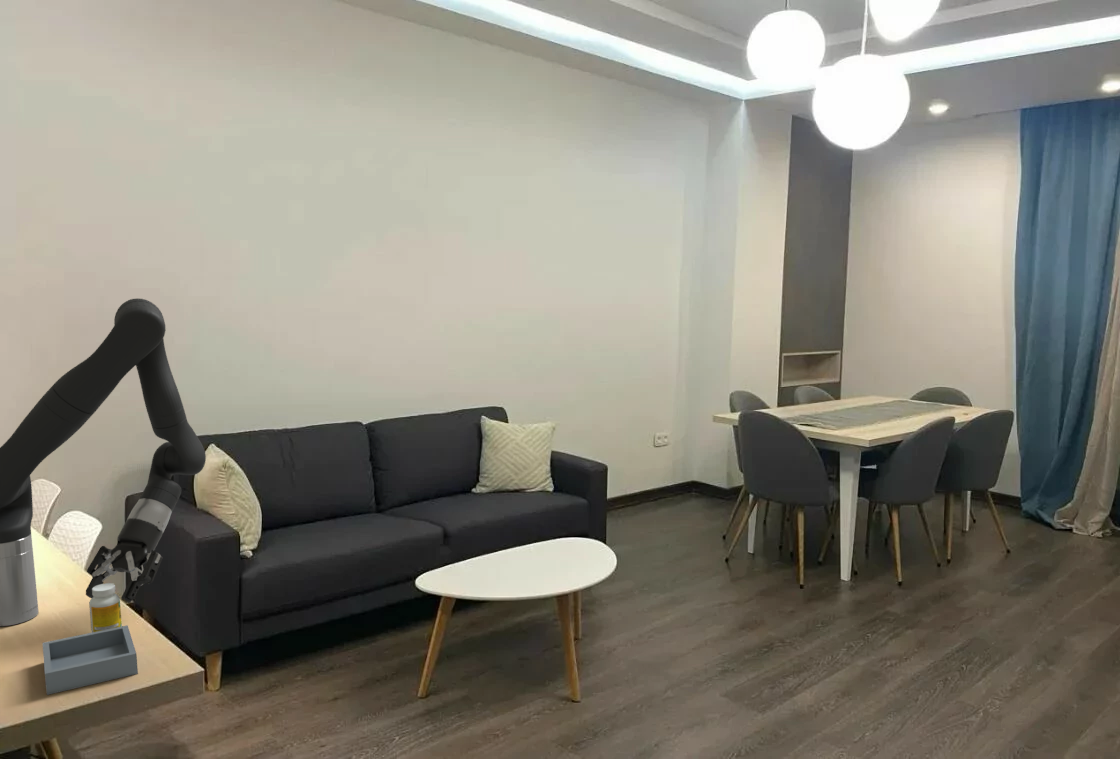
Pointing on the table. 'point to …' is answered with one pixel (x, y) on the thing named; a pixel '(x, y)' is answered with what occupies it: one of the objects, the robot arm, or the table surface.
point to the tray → (89, 659)
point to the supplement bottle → (105, 608)
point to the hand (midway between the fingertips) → (107, 599)
